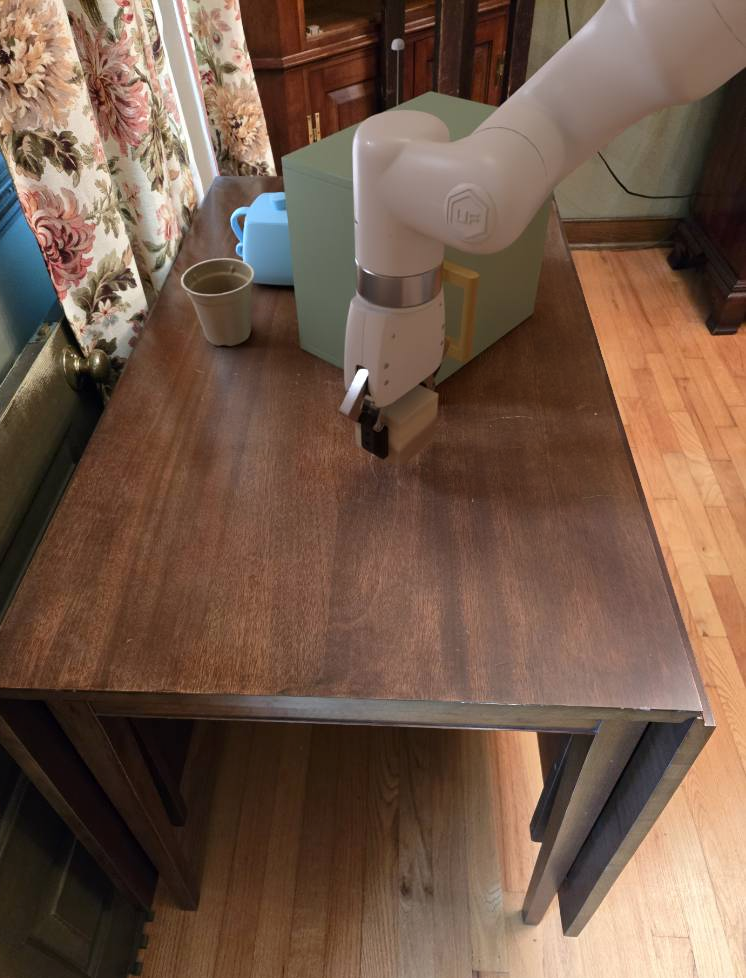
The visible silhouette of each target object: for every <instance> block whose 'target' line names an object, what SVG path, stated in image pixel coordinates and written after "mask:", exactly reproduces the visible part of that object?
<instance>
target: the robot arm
mask: <svg viewBox="0 0 746 978" xmlns="http://www.w3.org/2000/svg"><path fill="white" fill-rule="evenodd" d="M745 68H746V0H605V1H604V3H603V4H602V5H601V6H600V8H599V9H598V10H597V12H595V13H594V14H593V16H592V17H591V18H590V19H589V20H588V21H587V22H586V23H585V24H583V26H582V27H581V28H580V29H579V30H578V31H577V32H576V33H575V34H574V35H573V36H572V37H571V38H570V39H569V40H568V41H567V42H566V43H565V44H564V45H563V46H562V47H561V48H560V49H559V50H558V51H557V52H556V53H555V54H554V55H553V56H551V57H550V59H549V60H547V61H546V62H545V63H544V64H543V65H542V66H541V67H540V68H539V69H537V71H536V72H535V73H533V75H532V76H531V77H530V78H529V79H528V80H527V81H525V82H524V83H523V85H521V86H520V87H519V88H518V89H517V90H516V91H514V93H513V94H512V95H510V97H508V98H507V100H505V101H504V102H503V103H502V104H501V105H500V106H498V107H499V108H498V109H497V110H496V111H495V112H494V113H493V114H492V115H491V116H490V117H489V118H487V119H486V120H485V121H484V122H483V123H482V124H481V125H480V126H479V127H478V128H477V129H476V130H475V131H474V132H473V133H472V134H471V135H470V136H468V137H465V138H463V139H460V140H458V141H455V142H451V138H450V133H449V130H448V128H447V126H446V125H445V123H444V122H443V121H442V120H440V119H439V118H438V117H436V116H434V115H432V114H428V113H425V112H420V111H413V110H395V111H388V112H385V111H382V112H383V113H382V112H380V113H376V114H374V115H372V116H371V115H370V116H369V117H367V118H366V119H364V120H365V121H364V120H363V121H364V122H362V121H361V122H362V123H361V124H360V126H359V127H358V128H357V130H356V132H355V135H354V139H353V151H352V158H353V194H354V229H355V265H356V296H355V297H354V298H353V299H352V300H351V303H350V308H349V313H348V319H347V326H346V336H345V354H344V370H343V378H344V380H343V381H344V389H345V391H346V394H345V396H344V398H343V400H342V403H341V404H340V407H339V409H338V414H339V415H341V416H342V417H344V418H346V419H348V420H350V421H353V422H354V423H355V422H357V423H360V424H361V446H362V447H361V448H362V449H364V451H367V452H368V453H370V454H371V455H374V456H375V457H377V458H379V459H381V460H383V461H385V460H384V459H385V458H386V457H388V427H387V426H385V425H384V424H385V420H386V416H387V412H388V409H389V405H390V404H391V403H393V402H394V401H396V400H397V399H398V398H400V397H401V396H403V395H404V394H405V393H407V392H408V391H410V390H411V389H412V388H414V387H415V386H416V385H418V384H419V385H421V386H423V387H425V388H427V389H429V390H431V391H433V392H434V390H436V387H437V386H436V383H435V377H436V375H437V373H438V371H439V369H440V368H441V361H442V360H443V358H444V356H445V354H446V352H447V350H448V348H449V346H450V342H449V341H448V340H447V339H446V338H444V336H445V307H444V293H443V285H442V275H443V260H444V245H445V244H446V245H448V246H451V247H453V248H455V249H458V250H461V251H464V252H467V253H472V254H479V255H486V254H492V253H496V252H499V251H501V250H503V249H505V248H507V247H508V246H510V245H511V244H512V243H513V242H514V241H515V240H516V239H517V238H518V237H519V236H520V235H521V234H522V232H523V231H524V230H525V228H526V227H527V225H528V224H529V223H530V221H531V220H532V219H533V217H534V216H535V215H536V213H537V211H538V210H539V209H540V207H541V206H542V204H543V203H544V202H545V200H546V199H547V198H548V196H549V195H550V194H551V192H552V191H553V190H554V191H555V189H556V187H558V186H559V184H560V183H562V182H563V181H564V180H565V179H566V178H567V177H569V176H570V175H571V174H572V173H573V172H575V170H577V169H578V168H579V167H580V166H582V165H583V164H584V163H586V162H587V161H588V160H589V159H591V158H592V157H593V156H595V155H596V154H597V153H598V152H600V151H601V150H602V149H603V148H604V147H605V146H607V145H608V144H609V143H610V142H612V141H614V140H615V139H616V138H617V137H619V136H620V135H621V134H623V133H624V132H626V131H627V130H628V129H630V128H631V127H632V126H634V125H636V124H637V123H639V122H640V121H642V120H643V119H645V118H646V117H648V116H650V115H652V114H653V113H656V112H657V111H661V110H662V109H666V108H670V107H676V106H686V105H690V104H692V103H695V102H698V101H699V100H701V99H703V98H706V97H708V95H710V94H712V93H713V92H715V91H716V90H717V89H719V88H720V87H721V86H723V85H724V84H726V83H727V82H728V81H729V80H730V79H732V78H733V77H735V76H736V75H738V73H740V72H741V71H742V70H743V69H745ZM370 403H373V404H375V406H376V407H377V410H376V414H375V416H374V415H372V414H370V413H368V411H369V407H370Z"/></svg>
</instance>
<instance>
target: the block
mask: <svg viewBox="0 0 746 978" xmlns="http://www.w3.org/2000/svg"><path fill="white" fill-rule="evenodd" d="M438 405H439V393H438V392H435V391H434V390H433V391H431V390H429V389H427V388H425V387H423V386H421V385H419V384H418V385H416V386H415V387H414V388H412V389H411V390H410V391H408V392H407V393H405V394H404V395H403V396H401V397H400V398H398V399H397V400H396V401H394V402H393V403H391V404H390V405H389V409H388V412H387V416H386V420H385V424H384V425H385V426H387V427H388V457H386V458H385V459H384V460H383V461H385V462H386V463H388V464H390V465H392V466H393V467H395V468H397V469H399V470H400V469H401V468H402V467H403V466H405V464H407V463H408V462H410V461H411V460H412V459H414V458H415V457H416V456H417V455H418V454H419V453H421V452H423V450H424V449H426V448H427V447H428V446H430V444H432V443H434V441H436V433H437V422H438V421H437V419H438V407H439V406H438ZM376 410H377V407H376V406H375V404H373V403H370V407H369V411H368V413H370V414H372V415H374V416H375V414H376ZM354 424H355V425H354V429H355V445H357V446H358V447H360V448H362V446H361V424H360V423H357V422H355V421H354Z"/></svg>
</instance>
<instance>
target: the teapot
mask: <svg viewBox="0 0 746 978" xmlns="http://www.w3.org/2000/svg"><path fill="white" fill-rule="evenodd" d="M240 216H245V218H244V225H243V226H244V227H243V230H242V229H241V226H240V224H239V222H238V217H240ZM230 225H231V228H232V231H233V232H234V234H235V236H236V238H237V239H238V240H239V242H238V243H237V244H236V247H235V252H236V254H237V255H238V257H240V258H242V261H243V262H245V263H247V264H249V265H250V266H251V267H252V268H253V270H254V279H253V281H252V284H253V283H254V284H259V285H260V284H261V285H273V286H274V285H275V286H294V279H293V269H292V259H291V249H290V239H289V229H288V219H287V209H286V199H285V191H278V192H263V193H260V195H258V196H257V197H256V198H255V199H254V200H253V202H252V203H251V205H250V206H241V207H239V208H237V209H235V211H233V213H232V215H231V217H230Z"/></svg>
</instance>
